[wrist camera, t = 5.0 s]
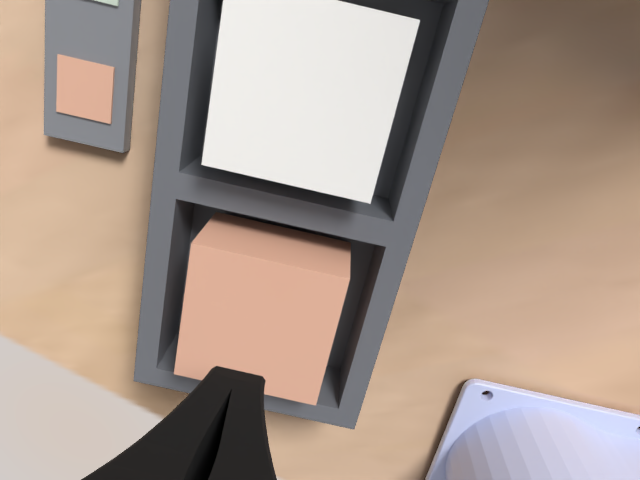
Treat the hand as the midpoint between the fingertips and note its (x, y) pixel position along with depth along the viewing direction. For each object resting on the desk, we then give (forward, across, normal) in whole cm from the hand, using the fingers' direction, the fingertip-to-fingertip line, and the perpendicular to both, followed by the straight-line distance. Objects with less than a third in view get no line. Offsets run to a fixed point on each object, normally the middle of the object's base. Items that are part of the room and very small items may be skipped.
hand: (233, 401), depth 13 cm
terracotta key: (+7, 0, 0) cm, 7 cm away
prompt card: (+8, +8, -7) cm, 14 cm away
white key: (+7, 0, -7) cm, 10 cm away
